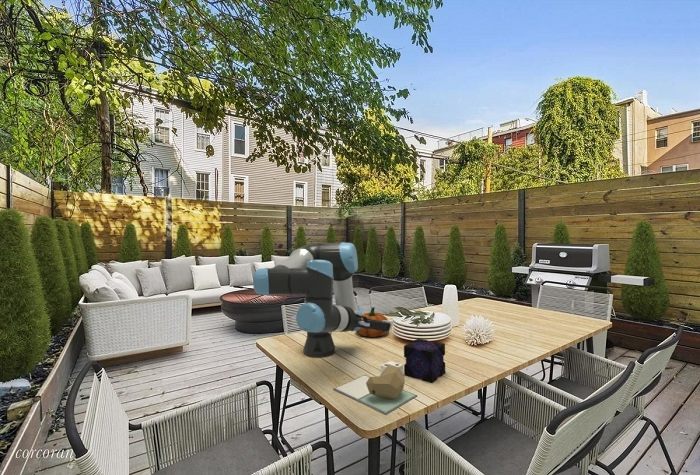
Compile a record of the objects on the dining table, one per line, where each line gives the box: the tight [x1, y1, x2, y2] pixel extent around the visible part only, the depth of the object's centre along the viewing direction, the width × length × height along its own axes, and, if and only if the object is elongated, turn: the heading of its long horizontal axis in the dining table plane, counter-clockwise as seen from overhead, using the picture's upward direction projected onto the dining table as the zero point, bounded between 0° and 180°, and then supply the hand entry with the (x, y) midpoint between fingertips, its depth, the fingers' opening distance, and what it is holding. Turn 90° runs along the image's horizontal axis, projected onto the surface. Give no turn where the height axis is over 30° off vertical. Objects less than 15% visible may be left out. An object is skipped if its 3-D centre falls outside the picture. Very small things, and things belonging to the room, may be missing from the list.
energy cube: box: [403, 338, 446, 384], centre depth 137 cm, size 12×12×12 cm
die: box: [380, 360, 404, 375], centre depth 132 cm, size 6×6×6 cm
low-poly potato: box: [366, 364, 405, 399], centre depth 119 cm, size 15×11×12 cm
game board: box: [332, 374, 418, 416], centre depth 122 cm, size 25×17×1 cm
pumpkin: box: [356, 307, 389, 338], centre depth 193 cm, size 19×19×15 cm
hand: (374, 319), depth 118 cm, fingers open, 13 cm apart
